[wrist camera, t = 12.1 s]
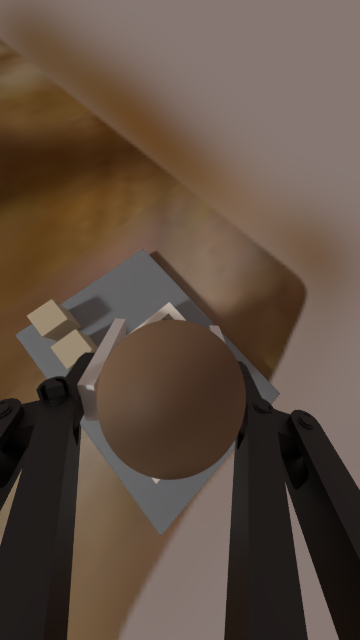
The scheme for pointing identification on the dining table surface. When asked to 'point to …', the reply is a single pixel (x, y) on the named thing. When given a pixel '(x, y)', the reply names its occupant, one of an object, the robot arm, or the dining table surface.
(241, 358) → the board
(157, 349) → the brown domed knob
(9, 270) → the dining table surface
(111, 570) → the dining table surface
